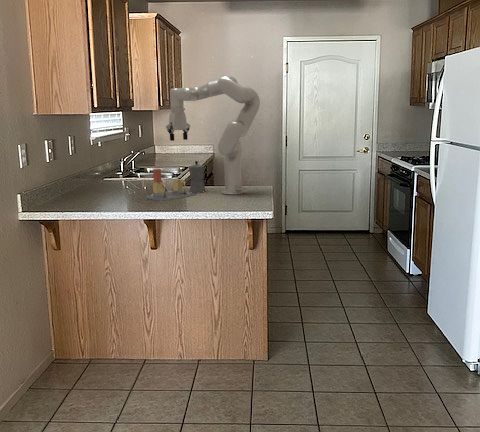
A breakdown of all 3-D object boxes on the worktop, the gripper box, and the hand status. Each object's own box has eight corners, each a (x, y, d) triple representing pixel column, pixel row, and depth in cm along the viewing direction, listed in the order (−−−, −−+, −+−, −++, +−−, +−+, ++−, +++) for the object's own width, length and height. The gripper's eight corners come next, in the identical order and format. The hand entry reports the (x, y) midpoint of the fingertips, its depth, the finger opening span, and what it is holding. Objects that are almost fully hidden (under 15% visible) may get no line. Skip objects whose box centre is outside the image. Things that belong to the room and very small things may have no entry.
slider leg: (167, 195, 299) (166, 169, 296) (162, 196, 296) (161, 170, 294) (158, 194, 305) (157, 168, 302) (153, 194, 302) (152, 169, 299)
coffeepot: (204, 193, 315) (202, 162, 311) (187, 193, 315) (186, 162, 312) (207, 189, 330) (206, 159, 326) (192, 189, 330) (190, 160, 327)
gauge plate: (195, 195, 309) (195, 179, 307) (161, 200, 292) (160, 184, 291) (180, 193, 318) (179, 178, 317) (146, 198, 302) (145, 182, 300)
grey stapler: (172, 194, 315) (166, 178, 313) (165, 197, 314) (158, 181, 311) (166, 190, 331) (160, 175, 328) (159, 193, 330) (153, 178, 327)
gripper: (185, 110, 324) (186, 139, 327) (161, 110, 312) (163, 140, 315) (193, 109, 318) (194, 139, 322) (169, 110, 306) (171, 141, 310)
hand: (178, 140), depth 318 cm, fingers open, 9 cm apart
